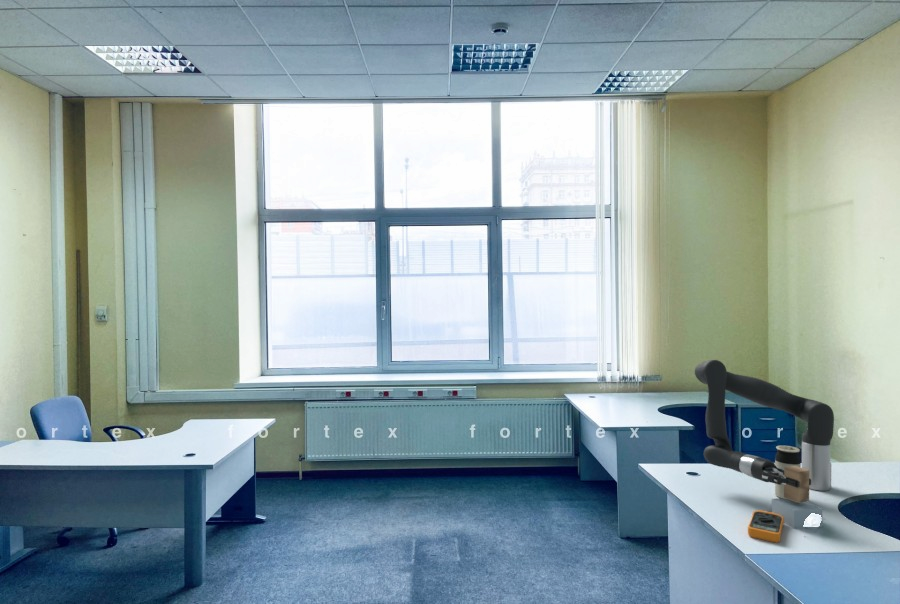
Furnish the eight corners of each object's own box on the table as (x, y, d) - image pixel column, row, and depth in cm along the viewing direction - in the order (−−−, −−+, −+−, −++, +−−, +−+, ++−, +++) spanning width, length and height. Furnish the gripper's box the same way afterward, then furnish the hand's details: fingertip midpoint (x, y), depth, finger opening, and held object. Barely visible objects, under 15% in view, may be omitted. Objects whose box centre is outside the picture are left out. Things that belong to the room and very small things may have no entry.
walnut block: (794, 495, 181) (794, 465, 181) (809, 500, 177) (809, 470, 177) (783, 497, 180) (784, 467, 179) (798, 502, 175) (799, 472, 175)
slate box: (798, 515, 184) (799, 497, 184) (822, 527, 174) (822, 509, 174) (771, 516, 183) (771, 498, 183) (793, 529, 173) (793, 510, 173)
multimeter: (784, 524, 177) (784, 514, 176) (779, 545, 162) (779, 533, 162) (754, 518, 181) (754, 508, 181) (747, 537, 167) (747, 526, 167)
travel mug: (787, 501, 195) (787, 451, 195) (769, 493, 203) (770, 445, 203) (805, 499, 197) (806, 450, 197) (787, 492, 205) (788, 444, 204)
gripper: (742, 459, 189) (789, 474, 173) (771, 454, 194) (819, 469, 178) (742, 480, 189) (789, 498, 173) (771, 475, 194) (819, 491, 178)
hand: (804, 483), depth 176 cm, fingers closed on walnut block, 5 cm apart
